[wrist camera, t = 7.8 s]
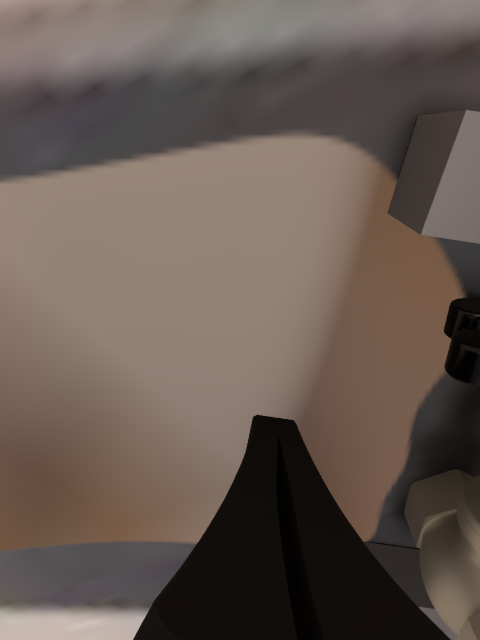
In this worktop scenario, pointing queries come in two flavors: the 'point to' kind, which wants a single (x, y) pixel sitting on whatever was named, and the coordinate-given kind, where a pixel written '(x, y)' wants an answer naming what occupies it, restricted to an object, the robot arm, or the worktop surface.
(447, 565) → the valve
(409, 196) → the chassis bay
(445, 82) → the worktop surface
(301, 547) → the robot arm
